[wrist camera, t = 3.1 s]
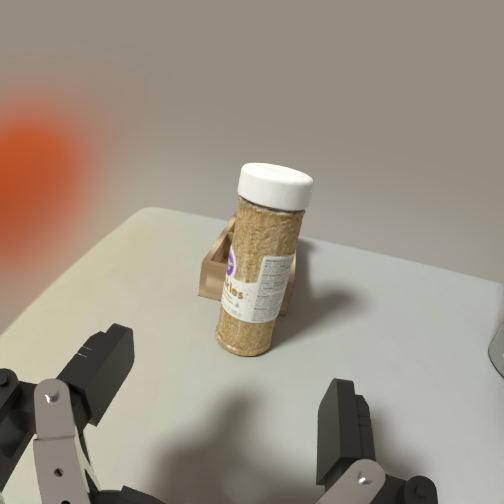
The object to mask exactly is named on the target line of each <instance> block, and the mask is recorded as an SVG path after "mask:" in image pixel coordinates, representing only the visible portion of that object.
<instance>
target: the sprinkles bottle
mask: <svg viewBox="0 0 504 504" xmlns="http://www.w3.org/2000/svg"><path fill="white" fill-rule="evenodd" d="M313 183H314V182H313V180H312V178H311V177H309V176H308V175H306V174H304V173H302V172H300V171H297V170H293V169H291V168H287V167H282V166H278V165H272V164H265V163H248V164H245V165H244V166H243V167H242V170H241V175H240V180H239V185H238V193H239V197H238V199H239V206H238V211H237V217H236V222H235V228H234V234H233V240H232V245H231V247H230V253H229V258H228V264H227V270H226V277H225V282H224V287H223V293H222V300H221V302H222V304H221V310H220V316H219V322H218V325H217V327H216V331H215V335H216V339H217V341H218V343H219V344H220V345H221V346H222V347H223V348H224V349H226V350H227V351H229V352H231V353H234V354H237V355H241V356H255V355H258V354H261V353H263V352H265V351H266V350H267V349H268V348H269V347H270V344H271V341H272V332H273V329H274V325H275V321H276V318H277V315H278V314H279V311H280V307H281V304H282V300H283V297H284V293H285V289H286V286H287V282H288V278H289V274H290V271H291V267H292V263H293V259H294V255H295V251H296V249H295V248H296V244H297V240H298V236H299V232H300V227H301V223H302V218H303V215H304V214H305V210H304V209H306V208H307V207H308V206H309V202H310V198H311V194H312V189H313Z"/></svg>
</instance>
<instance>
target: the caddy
mask: <svg viewBox="0 0 504 504" xmlns="http://www.w3.org/2000/svg"><path fill="white" fill-rule="evenodd" d="M236 217H237V211H236V212H235V214H234V215H233V217H232V218H231V220H230V221H229V223H228V224H227V226H226V227H225V228H224V230H223V231H222V233H221V234H220V236H219V237H218V239H217V240H216V242H215V243H214V245H213V246H212V248H211V249H210V251H209V252H208V254H207V255H206V257H205V258H204V260H203V261H202V267H201V275H200V284H199V294H198V295H199V296H203V297H207V298H211V299H215V300H219V301H221V300H222V293H223V287H224V282H225V277H226V270H227V264H228V258H229V253H230V247H231V245H232V240H233V234H234V228H235V222H236ZM295 249H296V248H295ZM295 263H296V251H295V255H294V259H293V263H292V267H291V271H290V274H289V278H288V282H287V286H286V289H285V293H284V297H283V300H282V304H281V307H280V311H279V314H280V315H286V311H287V308H288V304H289V301H290V297H291V294H292V290H293V286H294V282H295Z"/></svg>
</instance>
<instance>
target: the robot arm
mask: <svg viewBox="0 0 504 504" xmlns="http://www.w3.org/2000/svg"><path fill="white" fill-rule="evenodd" d="M489 355H490V358H491V360H492V362H493V364H494V366H495V367H496V368H497V370H498V371H499V372H500V373H501V374H502V375H503V376H504V322H503V324H502V326H501V327H500V329H499V331H498V333H497V334H496V336H495V338H494V339H493V341H492V343H491V344H490V346H489ZM134 357H135V355H134V342H133V331H132V329H131V328H128V327H125V326H122V325H119V324H116V323H114V324H113V325H112V326H111V327H110V328H109V329H108V330H107V332H106V333H104V332H101V331H100V332H98V333H96V334H94V335H93V336H91V337H89V339H88V340H87V341H86V342H85V343H84V345H83V347H81V348H80V349H79V351H78V352H77V354H75V355H74V357H73V358H72V359H71V360H70V362H69V363H68V364H67V365H66V367H65V368H64V369H63V370H62V371H61V373H60V374H59V375H58V376H57V378H56V379H46V380H44V381H42V382H40V383H39V384H32V383H27V382H23V381H19V380H18V378H17V376H16V374H15V373H14V372H13V371H12V370H10V369H5V368H3V369H0V504H5V502H4V498H3V496H2V494H1V493H2V491H3V489H4V487H5V485H6V483H7V481H8V479H9V477H10V476H11V474H12V472H13V470H14V468H15V466H16V465H17V463H18V461H19V459H20V458H21V456H22V454H23V452H24V451H25V449H26V447H27V445H28V444H29V442H30V440H31V439H32V437H33V435H34V433H35V434H37V439H34V440H33V450H34V458H35V465H36V472H37V478H38V484H39V489H40V494H41V499H42V504H165V503H163V502H161V501H160V500H158V499H156V498H155V497H153V496H151V495H148V494H145V493H142V492H140V491H137V490H134V489H132V488H129V487H127V486H124V485H123V488H122V490H121V491H119V490H101V488H100V485H99V482H98V480H97V477H96V475H95V472H94V469H93V466H92V462H91V458H90V454H89V450H88V445H87V441H86V437H85V432H84V428H85V426H86V425H87V423H89V424H91V425H94V426H96V427H97V425H98V423H99V422H100V420H101V418H102V417H103V415H104V413H105V412H106V410H107V408H108V406H109V405H110V403H111V401H112V400H113V398H114V397H115V395H116V393H117V392H118V390H119V388H120V387H121V385H122V383H123V382H124V380H125V378H126V377H127V375H128V374H129V372H130V370H131V368H132V366H133V363H134ZM316 485H325V493H324V494H323V495H322V496H321V497H320V498H319V499H318V500H317V501H316V502H315V503H314V504H438V498H437V490H436V487H435V485H434V483H433V482H432V481H431V480H430V479H429V478H427V477H425V476H415V477H412V478H411V479H409V480H408V481H405V480H402V479H398V478H395V477H392V476H389V475H387V474H385V472H384V470H383V468H382V467H381V466H380V465H379V464H378V463H377V462H376V459H375V451H374V443H373V434H372V428H371V419H370V412H369V406H368V404H367V402H366V401H365V399H364V397H363V396H362V395H355V390H354V383H353V381H349V380H342V379H336V378H334V379H333V380H332V382H331V384H330V386H329V388H328V390H327V392H326V393H325V395H324V397H323V399H322V401H321V403H320V406H319V410H318V438H317V475H316Z"/></svg>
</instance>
